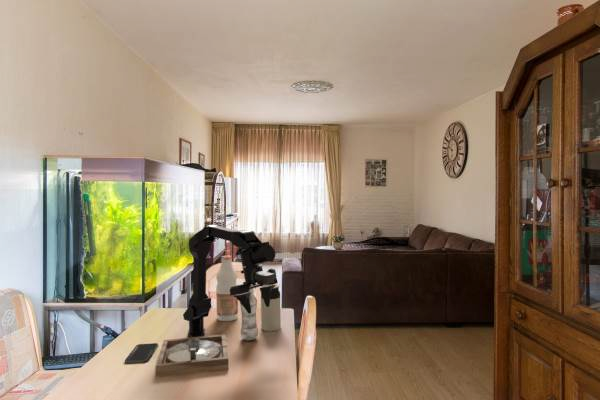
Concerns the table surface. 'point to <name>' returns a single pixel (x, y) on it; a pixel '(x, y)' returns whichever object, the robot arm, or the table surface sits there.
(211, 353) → the dial
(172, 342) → the square wooden tray
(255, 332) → the plastic bottle
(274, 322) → the travel mug
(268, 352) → the table surface
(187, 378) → the table surface
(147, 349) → the phone
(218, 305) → the fruit juice
